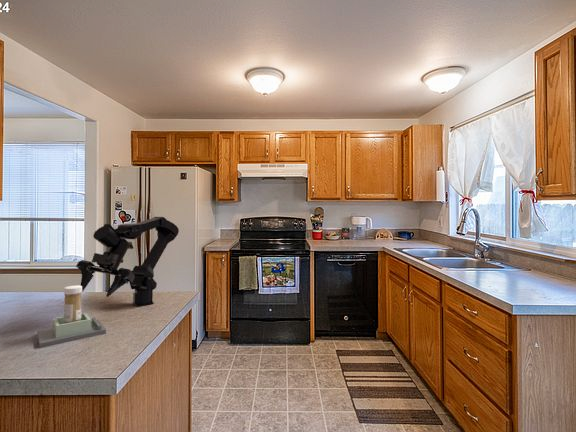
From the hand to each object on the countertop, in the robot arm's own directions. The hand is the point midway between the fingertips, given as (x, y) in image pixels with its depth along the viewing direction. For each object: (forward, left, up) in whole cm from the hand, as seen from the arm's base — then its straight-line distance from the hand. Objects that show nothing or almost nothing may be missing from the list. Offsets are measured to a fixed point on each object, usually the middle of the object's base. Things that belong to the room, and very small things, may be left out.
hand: (93, 293), depth 103 cm
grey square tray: (+7, +7, -10) cm, 14 cm away
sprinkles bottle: (+7, +7, -9) cm, 13 cm away
